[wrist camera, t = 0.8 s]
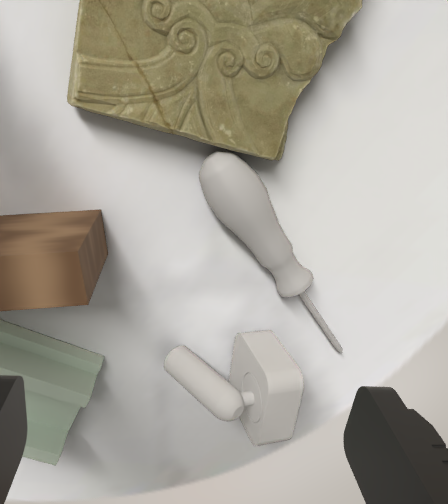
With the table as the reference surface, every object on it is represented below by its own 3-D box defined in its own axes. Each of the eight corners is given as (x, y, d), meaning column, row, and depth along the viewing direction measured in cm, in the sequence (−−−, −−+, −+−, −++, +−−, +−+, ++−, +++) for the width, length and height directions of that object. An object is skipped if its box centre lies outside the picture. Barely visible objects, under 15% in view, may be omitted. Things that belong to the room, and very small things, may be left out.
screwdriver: (318, 346, 47) (323, 376, 44) (189, 161, 37) (182, 182, 33) (359, 331, 46) (367, 361, 42) (237, 133, 35) (234, 151, 31)
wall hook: (163, 322, 41) (189, 394, 33) (260, 314, 45) (306, 377, 36) (159, 388, 45) (181, 469, 36) (250, 375, 48) (290, 446, 40)
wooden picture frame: (-51, 266, 38) (-116, 323, 30) (-67, 219, 36) (-140, 265, 28) (108, 256, 39) (88, 308, 31) (101, 209, 37) (77, 251, 29)
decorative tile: (71, 102, 34) (59, 107, 31) (125, -224, 26) (117, -265, 23) (288, 168, 38) (298, 178, 34) (388, -103, 30) (413, -123, 27)
